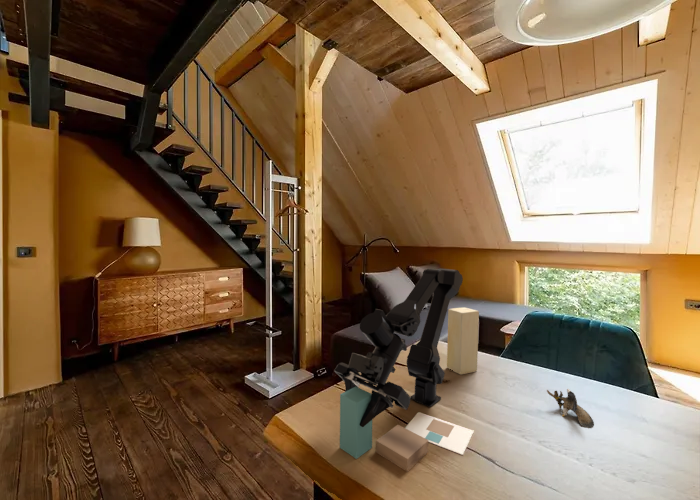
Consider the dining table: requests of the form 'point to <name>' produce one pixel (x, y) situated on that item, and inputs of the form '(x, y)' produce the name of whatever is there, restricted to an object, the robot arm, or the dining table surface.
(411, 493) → the dining table surface
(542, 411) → the dining table surface
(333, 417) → the dining table surface
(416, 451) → the walnut base brick
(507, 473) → the dining table surface
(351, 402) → the teal brick
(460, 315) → the cream tall rectangular block
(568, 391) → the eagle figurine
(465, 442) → the page
